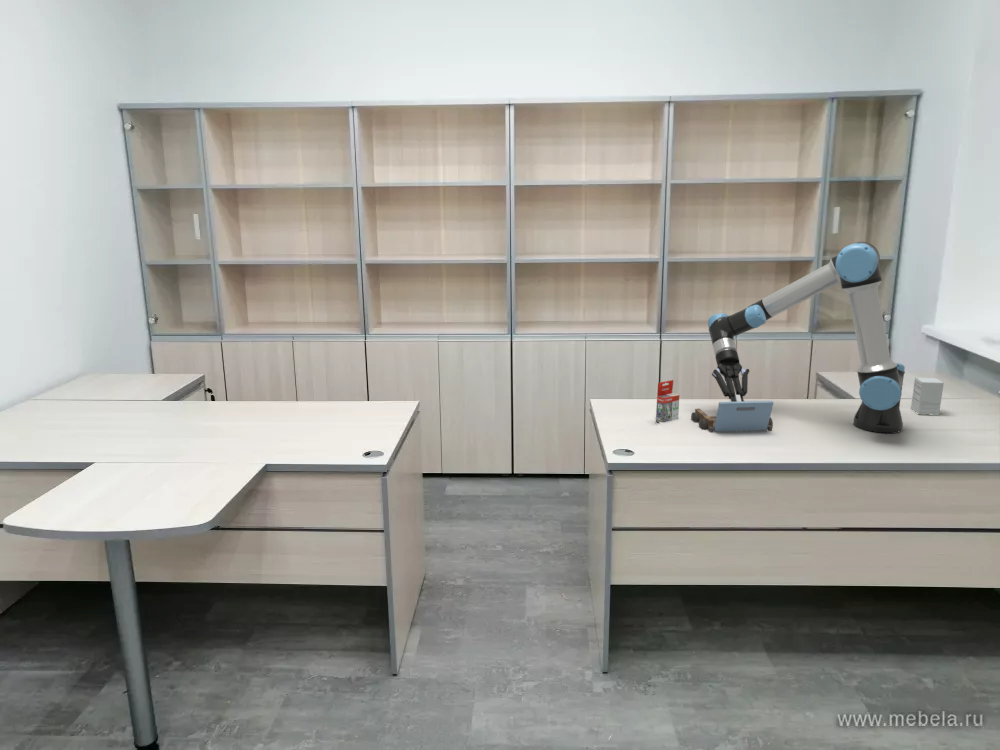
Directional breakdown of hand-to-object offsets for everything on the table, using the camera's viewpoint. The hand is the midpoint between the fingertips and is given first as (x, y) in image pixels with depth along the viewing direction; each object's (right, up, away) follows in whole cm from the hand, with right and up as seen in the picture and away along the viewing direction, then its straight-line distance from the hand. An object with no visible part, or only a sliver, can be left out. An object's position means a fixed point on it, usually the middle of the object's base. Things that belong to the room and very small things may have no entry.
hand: (740, 413), depth 239 cm
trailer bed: (0, -5, +9) cm, 10 cm away
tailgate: (0, -6, +2) cm, 6 cm away
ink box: (-21, -4, +15) cm, 26 cm away
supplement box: (+77, -1, +25) cm, 81 cm away
